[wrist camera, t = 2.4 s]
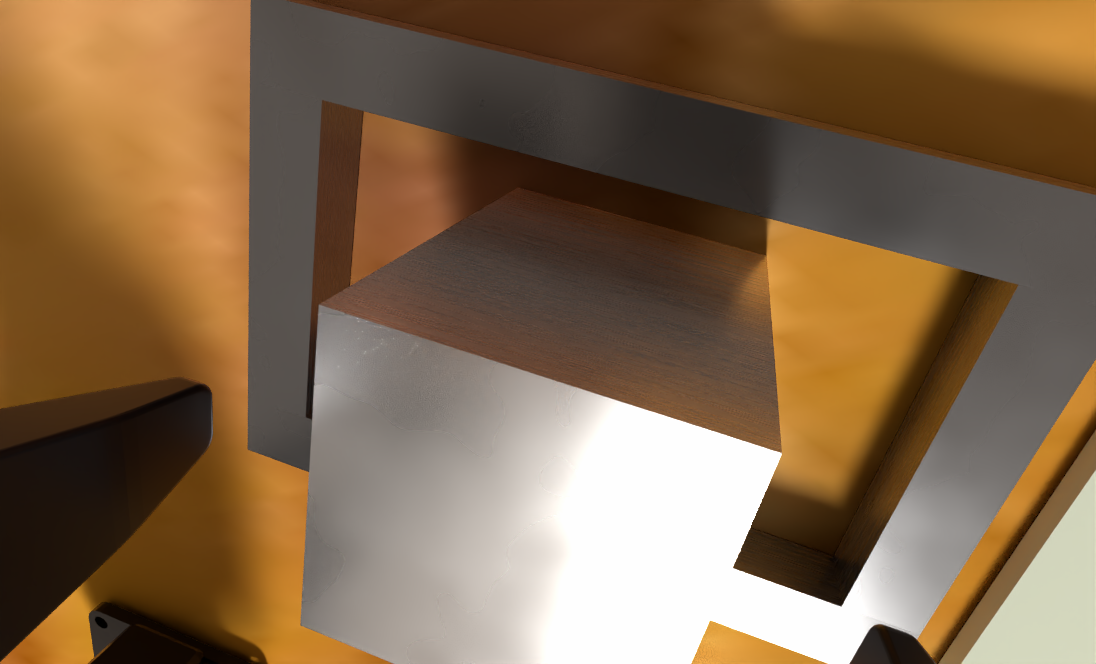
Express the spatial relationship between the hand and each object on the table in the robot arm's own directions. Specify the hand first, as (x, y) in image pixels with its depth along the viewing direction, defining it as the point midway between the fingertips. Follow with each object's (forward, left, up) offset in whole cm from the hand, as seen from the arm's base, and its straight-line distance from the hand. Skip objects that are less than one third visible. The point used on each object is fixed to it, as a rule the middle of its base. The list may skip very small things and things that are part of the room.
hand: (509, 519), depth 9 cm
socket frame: (0, 0, -6) cm, 6 cm away
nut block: (0, 0, -6) cm, 6 cm away
